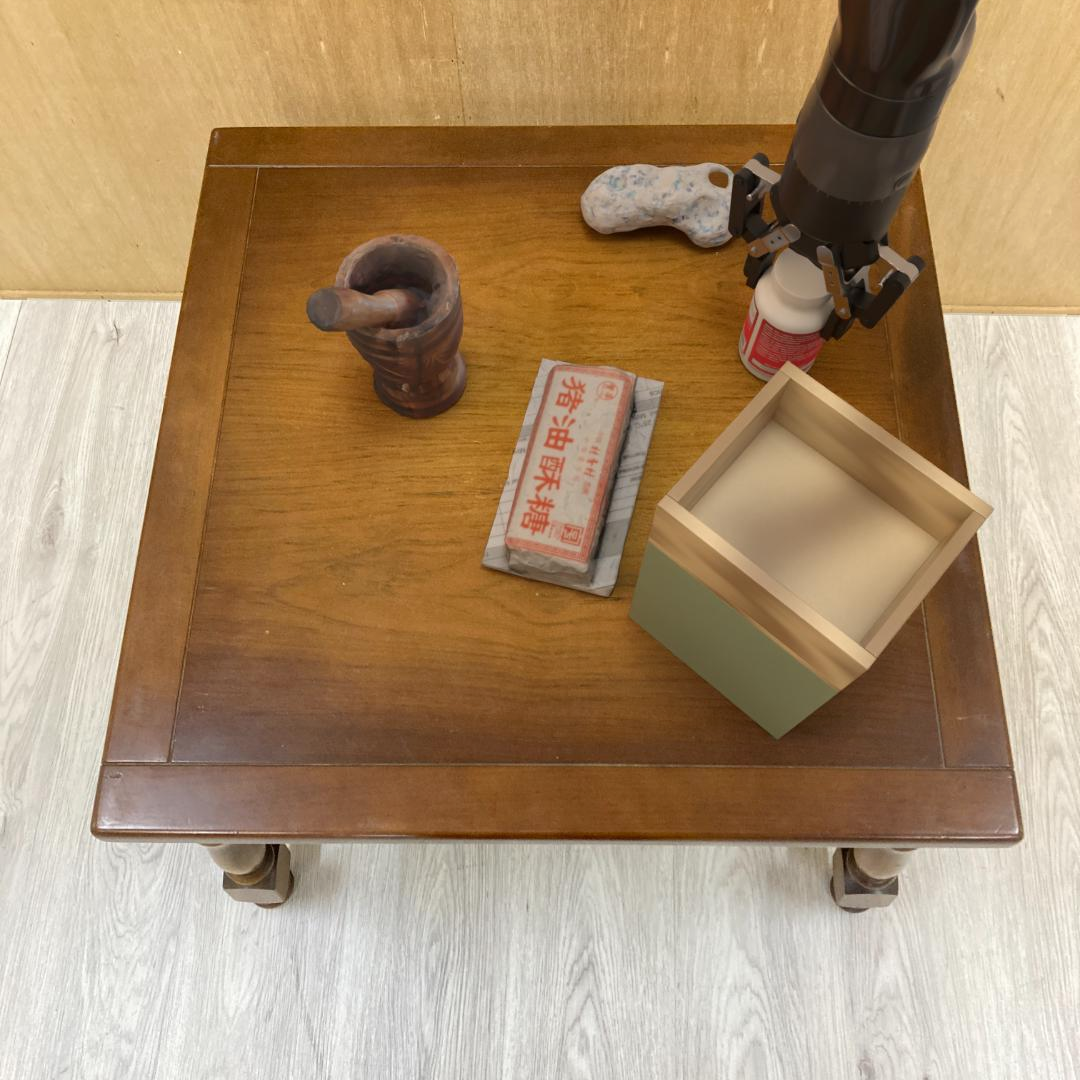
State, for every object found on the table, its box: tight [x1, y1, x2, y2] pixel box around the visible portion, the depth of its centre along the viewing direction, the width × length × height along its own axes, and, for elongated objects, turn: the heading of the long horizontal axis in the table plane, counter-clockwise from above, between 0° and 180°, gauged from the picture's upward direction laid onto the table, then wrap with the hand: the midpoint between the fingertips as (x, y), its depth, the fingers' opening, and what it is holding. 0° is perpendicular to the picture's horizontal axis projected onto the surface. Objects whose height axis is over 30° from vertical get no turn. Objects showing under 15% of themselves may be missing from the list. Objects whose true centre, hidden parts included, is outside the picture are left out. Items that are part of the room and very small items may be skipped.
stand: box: [627, 540, 840, 740], centre depth 67 cm, size 14×12×16 cm
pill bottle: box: [738, 247, 835, 383], centre depth 77 cm, size 6×6×11 cm
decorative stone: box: [580, 162, 735, 249], centre depth 84 cm, size 13×7×5 cm, turn 94°
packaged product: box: [480, 357, 665, 598], centre depth 76 cm, size 18×5×10 cm
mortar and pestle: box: [305, 233, 467, 419], centre depth 71 cm, size 12×9×20 cm
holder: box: [647, 361, 995, 693], centre depth 57 cm, size 14×12×6 cm
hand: (793, 305), depth 76 cm, fingers closed on pill bottle, 6 cm apart
